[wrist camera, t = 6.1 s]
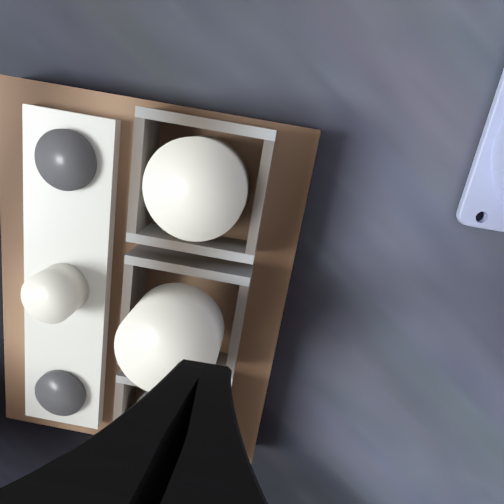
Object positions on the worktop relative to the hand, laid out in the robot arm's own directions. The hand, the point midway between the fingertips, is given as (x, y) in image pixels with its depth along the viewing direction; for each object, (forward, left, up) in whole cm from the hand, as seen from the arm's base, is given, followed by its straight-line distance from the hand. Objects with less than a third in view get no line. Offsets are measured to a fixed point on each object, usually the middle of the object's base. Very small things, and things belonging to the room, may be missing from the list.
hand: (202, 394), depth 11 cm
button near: (+2, -4, -8) cm, 10 cm away
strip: (+8, +2, -9) cm, 12 cm away
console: (+5, +2, -10) cm, 11 cm away
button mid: (+2, +2, -6) cm, 7 cm away
